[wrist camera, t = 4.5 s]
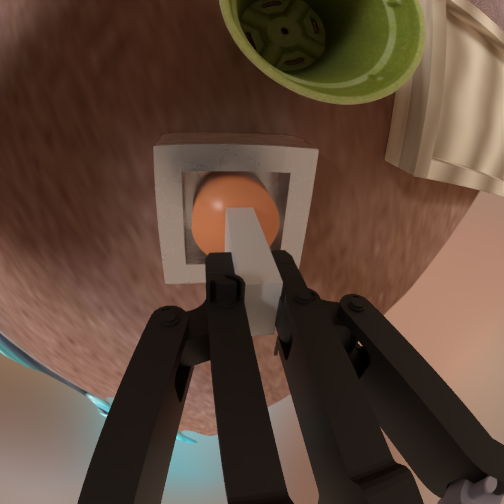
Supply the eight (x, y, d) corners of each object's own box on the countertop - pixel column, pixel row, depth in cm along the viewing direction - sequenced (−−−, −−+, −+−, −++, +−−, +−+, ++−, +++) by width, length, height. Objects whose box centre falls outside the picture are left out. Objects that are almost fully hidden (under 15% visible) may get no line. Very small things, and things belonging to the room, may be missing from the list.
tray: (384, 160, 20) (413, 176, 17) (400, -18, 11) (430, -27, 8) (500, 188, 24) (521, 202, 21) (518, 69, 15) (541, 75, 12)
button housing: (170, 248, 22) (165, 283, 18) (164, 133, 17) (153, 145, 13) (281, 245, 23) (296, 278, 20) (295, 135, 18) (318, 149, 15)
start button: (193, 239, 19) (193, 263, 17) (192, 168, 17) (190, 184, 14) (264, 237, 20) (274, 261, 18) (271, 169, 17) (284, 184, 15)
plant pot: (362, 77, 16) (445, 84, 9) (244, 115, 17) (275, 135, 10) (317, -29, 11) (380, -73, 4) (189, 2, 12) (181, -55, 5)
